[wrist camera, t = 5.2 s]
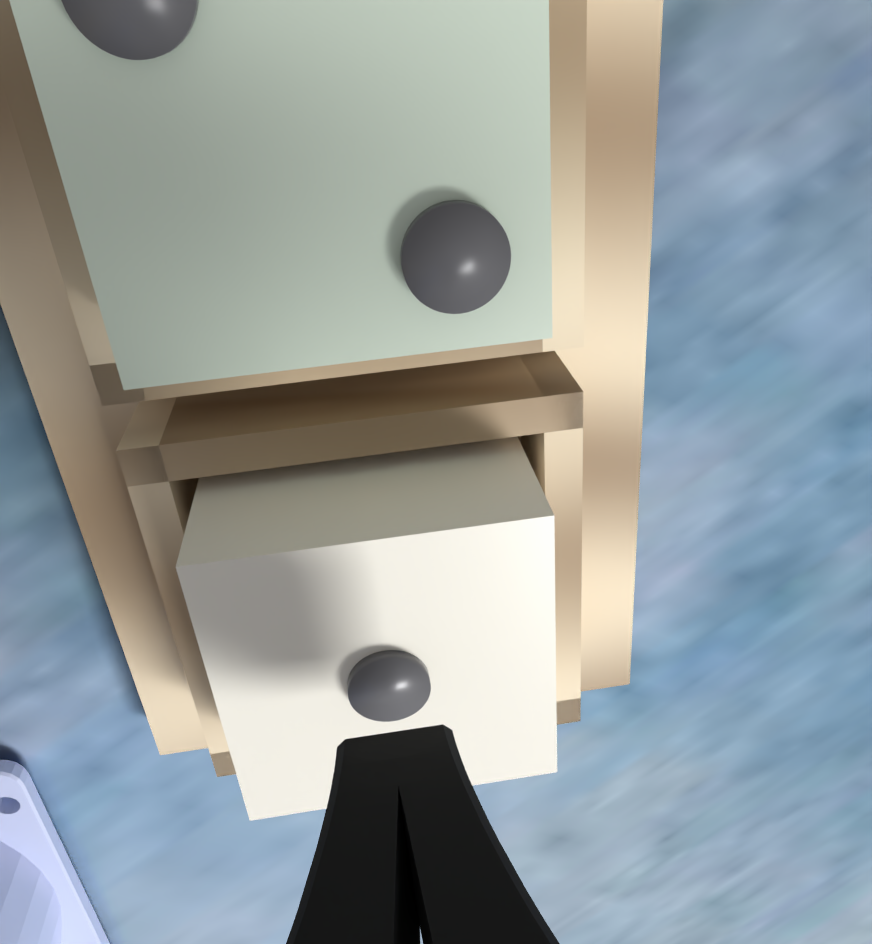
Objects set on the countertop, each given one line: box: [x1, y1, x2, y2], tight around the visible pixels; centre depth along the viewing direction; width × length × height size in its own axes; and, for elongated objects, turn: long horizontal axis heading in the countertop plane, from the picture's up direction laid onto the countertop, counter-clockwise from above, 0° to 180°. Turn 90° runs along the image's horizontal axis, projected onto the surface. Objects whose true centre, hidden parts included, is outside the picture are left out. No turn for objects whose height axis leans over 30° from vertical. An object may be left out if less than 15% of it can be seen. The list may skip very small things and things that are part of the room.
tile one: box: [176, 436, 557, 821], centre depth 13 cm, size 5×5×3 cm
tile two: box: [9, 0, 552, 390], centre depth 9 cm, size 5×5×3 cm
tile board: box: [0, 0, 663, 777], centre depth 11 cm, size 24×10×3 cm, turn 5°
